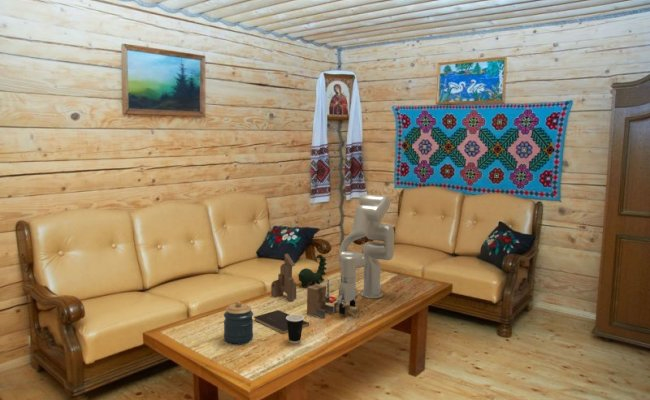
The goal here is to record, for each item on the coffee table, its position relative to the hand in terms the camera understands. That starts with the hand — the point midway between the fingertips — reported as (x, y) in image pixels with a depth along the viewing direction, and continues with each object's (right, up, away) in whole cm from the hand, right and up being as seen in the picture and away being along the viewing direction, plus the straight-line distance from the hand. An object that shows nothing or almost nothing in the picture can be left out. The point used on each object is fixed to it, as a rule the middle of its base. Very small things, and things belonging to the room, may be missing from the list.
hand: (347, 311), depth 258 cm
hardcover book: (-33, -3, -13) cm, 36 cm away
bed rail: (0, -2, 0) cm, 2 cm away
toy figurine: (-20, +5, +51) cm, 55 cm away
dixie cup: (-25, -6, -34) cm, 43 cm away
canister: (-50, -5, -34) cm, 61 cm away
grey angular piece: (-14, -1, 0) cm, 14 cm away
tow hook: (-10, +1, +23) cm, 25 cm away
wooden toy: (-34, +2, +25) cm, 43 cm away
